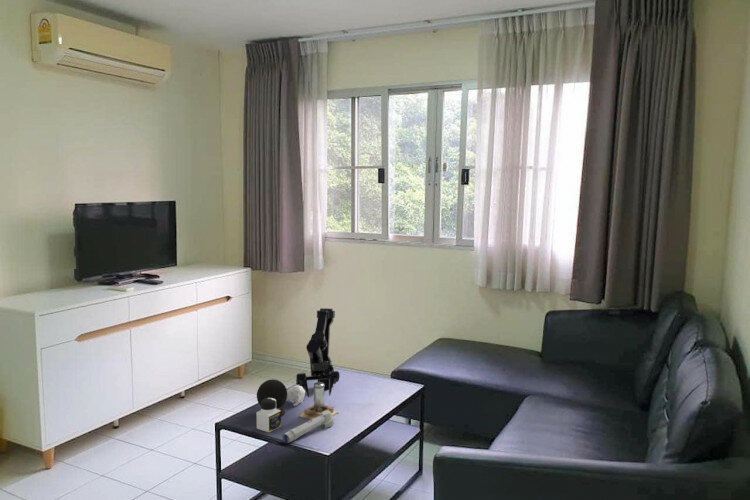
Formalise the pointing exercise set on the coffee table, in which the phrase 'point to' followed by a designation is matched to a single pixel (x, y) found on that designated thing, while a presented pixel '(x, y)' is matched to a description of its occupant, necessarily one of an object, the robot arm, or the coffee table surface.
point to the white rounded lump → (296, 394)
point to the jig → (312, 414)
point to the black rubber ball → (273, 393)
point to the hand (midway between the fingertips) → (319, 396)
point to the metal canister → (319, 396)
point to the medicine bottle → (268, 416)
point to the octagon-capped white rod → (309, 426)
